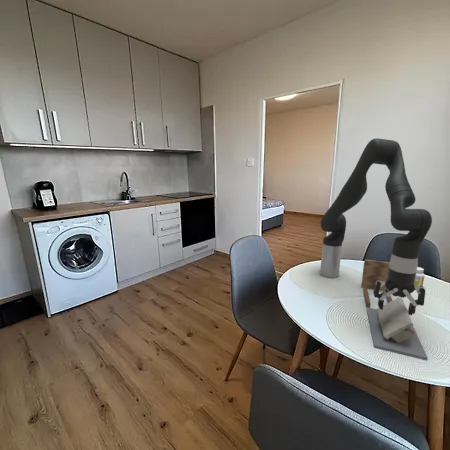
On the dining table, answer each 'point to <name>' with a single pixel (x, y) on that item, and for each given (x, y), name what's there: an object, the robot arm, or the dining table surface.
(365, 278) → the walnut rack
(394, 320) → the packaged product
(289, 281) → the dining table surface
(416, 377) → the dining table surface
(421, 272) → the supplement bottle
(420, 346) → the charcoal pad
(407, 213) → the robot arm
